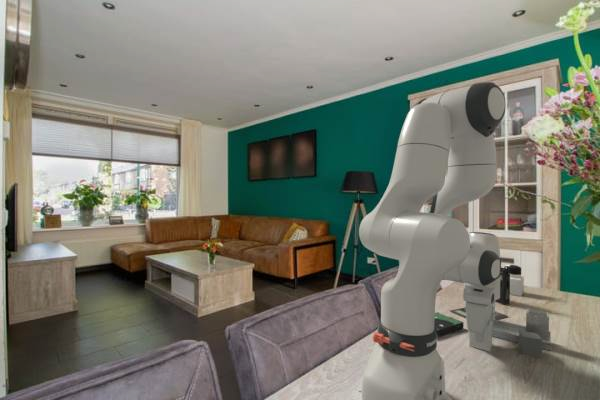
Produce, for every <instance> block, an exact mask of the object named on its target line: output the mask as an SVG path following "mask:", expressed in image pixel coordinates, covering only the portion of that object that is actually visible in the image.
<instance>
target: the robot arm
mask: <svg viewBox="0 0 600 400" xmlns="http://www.w3.org/2000/svg"><path fill="white" fill-rule="evenodd" d="M506 105H507V104H506V97H505V95H504V92H503V90H502V89H501V87H500V86H498V84H496V83H494V82H491V81H490V82H487V81H486V82H485V81H484V82H477V83H473V84H472V85H469V86H463V87H459V88H455V89H451V90H445V91H443V92H439V93H437V94H435V95H432V96H430V97H428V98H423V99H421V100H419V101H418V102H416V103H414V104H413V105H412V106H411V108H410V110H409V111H408V113H407V114H406V117H405V120H404V122H403V125H402V127H401V131H400V134H399V138H398V141H397V147H396V152H395V157H394V162H393V167H392V171H391V175H390V179H389V183H388V186H386V190H385V191H384V193H383V194H382V195H383V196H382V197H381V198H380V201H379V202H378V203H377V205H376V206H375V207H374V209H373V210H372V211H371V212H369V213H368V214H366V215H365V216H364V217H363V218H362V220H361V221H360V224H359V229H358V236H359V240H360V242H361V244H362V246H363V247H364V248H366V249H367V250H369V251H371V252H372V253H374V254H376V255H378V256H381V257H385V258H388V259H392V260H396V261H398V264H399V265H398V270H397V273H396V276H395V277H392V278H391V279H388V280H387V281H386V282H384V284H383V285H382V287H381V290H380V320H379V321H378V326H377V329H376V330H377V331H374V333H373V336H372V341H373V343H375V344H374V347H373V349H372V351H371V354H370V356H369V360H368V362H367V365H366V367H365V370H364V373H363V376H362V378H361V380H360V382H359V383H358V386H357V388H356V389H355V392H354V393H353V396H352V398H351V399H350V400H454V399H453V398H452V396H451V395H449V394H448V393H447V392H446V372H445V361H444V359H443V358H442V357H441V355H440V354H439V352H438V350H437V345H438V337H437V332H436V328H435V326H434V319H435V312H436V300H437V299H436V298H437V292H438V289H439V287H440V284H441V283H442V281H450V282H456V283H460V284H463V292H462V293H463V295H462V300H463V301H464V302H465V307H466V318H465V320H466V327H467V330H468V331H469V333H470V332H473V333H475V340H476V342H479V343H483V336H484V335H483V334H484V331H485V329H486V326H487V324H488V321H489V319H490V316H491V314H492V309H493V304H494V302H495V301H496V300H498V299H500V278H499V277H500V275H501V267H502V258H501V250H500V243H499V237H498V236H497V235H496V234H493V233H490V232H481V231H470V232H468V229H467V228H466V226H465V224H464V222H462V221H461V220H459V219H457V218H454V217H451V216H449V215H450V213H451V212H452V211H453V210H454V209H456V208H457V207H460V206H462V205H465V204H469V203H470V202H474V201H477V200H479V199H481V198H483V197H485V196H487V195H488V194H489V193H490V192H491V191H492V190H493V188H494V187H495V185H496V181H497V174H498V171H497V170H498V162H497V160H498V159H497V147H496V142H495V136H494V131H496V128H497V127H499V125H500V123H501V122H502V120H503V118H504V116H505V112H506ZM431 198H432V200H431V204H430V211H429V212H422V211H421V209H422V208H423V207H424V205H425V204H426V203H427V201H429V200H430V199H431ZM495 303H496V302H495Z"/></svg>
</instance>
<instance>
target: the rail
mask: <svg viewBox="0 0 600 400" xmlns="http://www.w3.org/2000/svg"><path fill="white" fill-rule="evenodd" d="M495 307H496V302H494V304H493V309H492V314H491V316H490V319H489V321H492V338H493V337H494V338H498V339H502V340H506V341H509V342H510V341H511V342H514V343H518V344H519V331H526V332H533V333H537V334H538V335H539V337H540V338H541V339H542V350H547V351H552V340H551V337H552V336H551V331H550V316H549V312H548V311H544V310H538V309H532V308H526V311H525V312H526V313H525V319H526V320H525V325H522V324H517V323H514V322H513V323H512V322H510V321H509V322H508V321H505V320H504V321H503V320H501V319H499V320H495V310H496V309H495Z"/></svg>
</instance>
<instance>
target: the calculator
mask: <svg viewBox="0 0 600 400" xmlns="http://www.w3.org/2000/svg"><path fill="white" fill-rule="evenodd" d="M449 312H450V313H452V314H454V315H457V316H459V317H461V318H464V319H466V306H465V307H460V308H455V309H451V310H450V311H449ZM507 318H509V315H507V314H504V313H502V312H499V311H495V320H502V319H507Z"/></svg>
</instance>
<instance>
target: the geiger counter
mask: <svg viewBox="0 0 600 400" xmlns="http://www.w3.org/2000/svg"><path fill="white" fill-rule="evenodd" d="M506 267H507V268H506ZM499 278H500V299H498V300H496V301H495V303H498V304H501V305H503V306H507V305H510V303H511V301H510V299H511V298H510V297H511V294H510V269H508V266H505V265H504V267H502V266H501V275H500V277H499Z"/></svg>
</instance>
